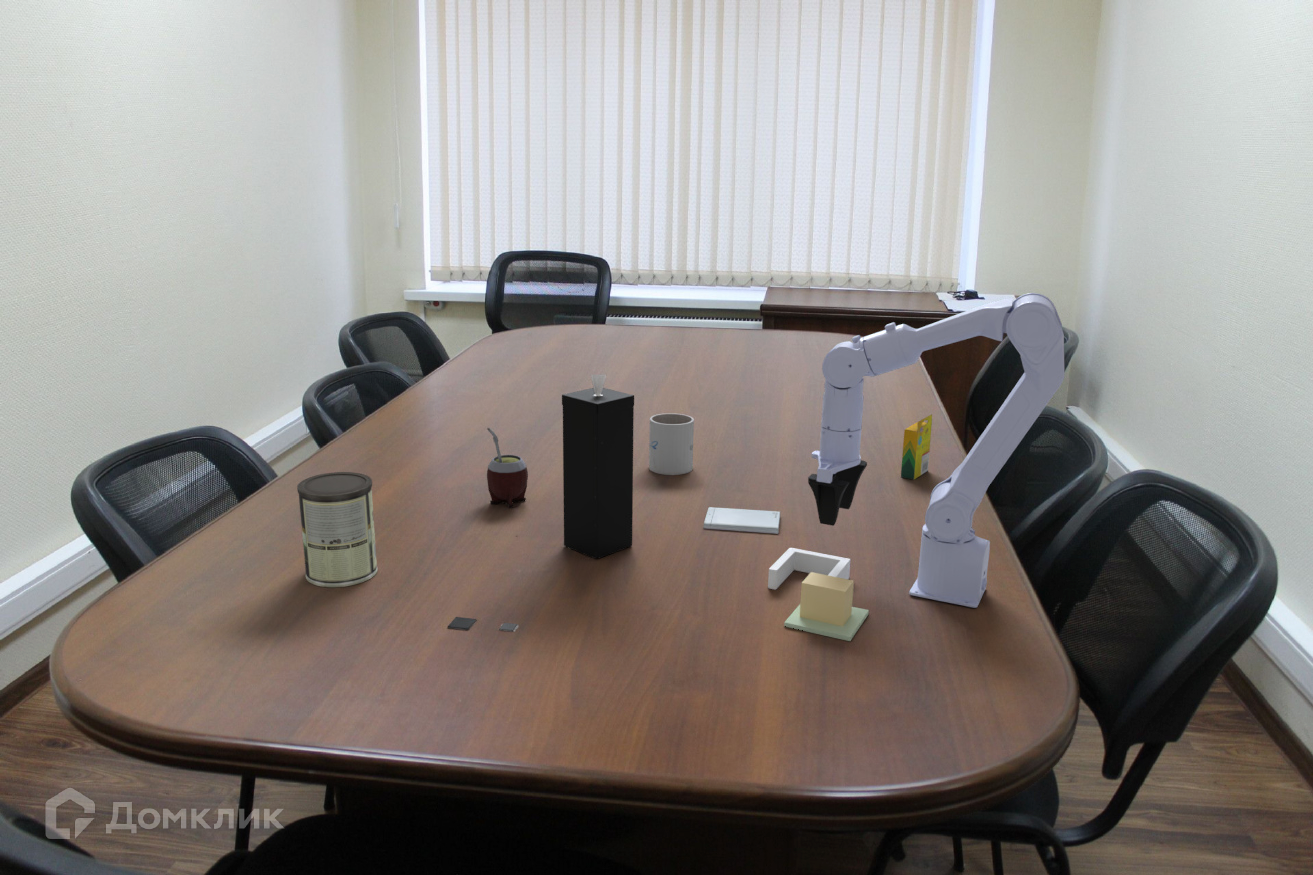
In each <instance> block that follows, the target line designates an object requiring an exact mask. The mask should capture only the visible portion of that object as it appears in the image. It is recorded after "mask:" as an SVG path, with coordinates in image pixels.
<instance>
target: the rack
mask: <svg viewBox="0 0 1313 875" xmlns="http://www.w3.org/2000/svg"><path fill="white" fill-rule="evenodd" d="M851 559H852V558H846V557H841V556H837V555H831V554H825V553H821V552H816V551H810V550H806V549H800V548H796V547H795V548H794V547H789V548H788V549H787V550H786V551H785V552H784V553H783V554H782V555H781V556H780V557H779V558H778V559H777V560H776V561H775V562H774V563H773V564H772V565H771V566H770V567H769V568H768V581H767V583H768V584H767V589H770V590H771V589H772V590H777V589H778V588H779V587H780V586H781V585H782V584H783V583H784V582H785V580H787V578H788V577H789V576H790V575H791V574H792V573H793V571H797V572H803V573H805V574H806V573H807V574H810V573H811V572H814V573H818V574H823V575H828V576H833V577H838V578H843V579H848V580H850V574H851V573H850V571H851V570H850V569H851Z"/></svg>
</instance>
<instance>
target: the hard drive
mask: <svg viewBox="0 0 1313 875" xmlns="http://www.w3.org/2000/svg"><path fill="white" fill-rule="evenodd" d="M780 522H781V511H776V510H775V511H774V510H761V509H760V510H759V509H744V508H731V507H730V508H727V507H711V506H709V507H708V509H707V512H706V516H705V519H704V521H703V529H708V530H724V531H735V532H737V531H738V532H752V533H764V534H775V535H776V534H777V535H778V534H779V530H780Z"/></svg>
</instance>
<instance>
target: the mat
mask: <svg viewBox="0 0 1313 875" xmlns="http://www.w3.org/2000/svg"><path fill="white" fill-rule="evenodd" d="M868 615H870V613H869V609H865V608H860V607H855V606H852V613H851V616H850V617H849V619H848V620H847V621H846V623H845V624H844V626H838V625H834V624H829V623H825V622H820V621H816V620H812V619H807V618H803V617H800V603H799V604H798V605H797V607H796V608H795V609H794V611H793V612H792V613H791V614H790V615H789V616H788V617H787V619H786V620H785V621H784V623H783V624H784V626H783V627H785V626H786V627H785V628H790V629H793V628H794V629H795V630H798V629H799V630H798V631H802V630H803V632H807V633H811V634H817V635H821V636H825V637H830V638H833V639H838V640H842V641H848V642H851V640H852V639H853V638H854V637H855V635H856V633H857V632H858V630H859V629H860V627H861V626H862V625H863V623H864V621H865V620H866V618H867V617H868ZM794 629H793V630H794Z"/></svg>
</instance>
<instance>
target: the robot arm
mask: <svg viewBox="0 0 1313 875" xmlns="http://www.w3.org/2000/svg"><path fill="white" fill-rule="evenodd" d="M1004 334H1006V335H1007V338H1008V339H1009V341H1010V342H1011V344H1012V345H1013V346H1014V348H1015V349H1016V351H1017V352H1018V353H1019V355H1020V360H1021V363H1022V368H1023V370H1024V372H1023V374H1022V375H1021V377H1020V378H1019V380H1018V381H1017V383H1016V384H1015V386H1014V387H1013V388H1012V390H1011V392H1009V394H1008V396H1007V397H1006V399H1004V402H1003V403H1002V404H1001V406H1000V408H999V409H998V411H996V413H995V414H994V416H993V417H992V419H991V420H990V422H989V423H988V425H986V428H984V431H983V432H982V433H981V435H980V436H979V437H978V439H977V440H976V442H975V443H974V445H973V446H972V447H971V449H970V451H969V452H968V454H966V456H965V458H964V459H963V461H962V462H961V463H960V464H959V465H958V466H957V467H956V468H955V469H954V471H953V472H952V473H951V474H950V476H949V477H948V478H946V479H945V480H943V481H940V482H939V483H938V484H936V485H935V486H934V488H933V489H932V491H931V493H930V497H929V504H928V507H927V509H926V511H925V516H924V523H925V524H923V525H922V528H921V529H922V531H921V539H920V550H919V561H918V562H919V564H918V569H917V570H918V571H917V578H916V580H915V582H914V583H913V585H912V587H911V588H910V590H909V593H908V594H909V595H910V596H912V597H913V596H914V597H919V598H924V599H929V600H934V601H937V602H944V603H949V604H952V605H959V606H964V607H967V608H974V609H975V608H978V606H979V604H980V602H981V599H982V597H983V595H984V593H985V591H986V588H987V584H988V578H987V576H988V568H989V561H990V560H989V559H990V552H991V551H990V547H991V546H990V545H991V544H990V543H991V542H990V541H991V540H988V539H985V538H983V537H979V536H977V535H976V530H975V528H973V519H974V514H975V512H976V510H977V509H978V508H979V506H980V504H981V502H982V500H983V499H984V496H985V494H986V492H987V491H988V488H989V486H990V484H992V482H993V481H994V479H995V478H996V477H997V475H998V474H999V473H1000V471H1001V469H1002V468H1003V467H1004V465H1005V464H1006V463H1007V461H1008V460H1009V458H1010V457H1011V456H1012V454H1013V453H1014V451H1015V450H1016V449H1017V447H1018V446H1019V445H1020V443H1021V441H1023V439H1024V437H1026V434H1027V433H1028V432H1029V430H1030V429H1031V428H1032V426H1033V424H1035V422H1036V420H1037V419H1038V418H1039V416H1041V414H1042V412H1043V411H1044V410H1045V408H1046V406H1048V403H1050V401H1051V399H1052V398H1053V397H1054V395H1055V393H1056V392H1057V391H1058V390H1059V388H1060V387H1061V385H1062V384H1063V381H1064V380H1065V335H1064V331H1063V324H1062V321H1061V318H1060V316H1059V314H1058V310H1057V308H1056V306H1055V304H1054V303H1053V301H1052V300H1051V299H1050V298H1049V297H1047V296H1046V295H1044V294H1041V293H1037V292H1029V293H1024V294H1022V295H1020V296H1018V297H1017V298H1015V299H1014V297H1008V298H1003V299H1000V300H998V299H997V300H995V301H992V302H989V303H988V302H987V303H985V304H982V305H979V306H976V307H974V308H971V309H967V310H965V311H962V312H960V313H957V314H955V315H951V316H949V317H945V318H943V319H941V320H938V321H936V322H933V323H930V324H926V325H925V326H922V327H919V328H914V327H912V326H910V325H908V324H905V323H902V324H898V325H896V322H894V321H893V322H891V323H888V324H886V325H885V326H884V329H883V330H880V331H877V332H874V333H872V334H868V335H865V336H863V337H861V335H860V334H858V335H857V334H856V335H855V336H853V337H852V338H851V341H852V342H851V341H850V340H849V341H842V342H839V343H837V344H836V345H834V347H833V348H831V350H829V352H828V353H827V354H826V355H825V357H824V359H823V362H822V366H821V370H822V372H821V373H822V374H823V378H824V380H825V381H824V384H823V385H824V386H823V387H824V393H823V395H822V408H821V421H820V422H821V423H820V425H821V426H820V438H819V440H820V441H819V450H814V451H812V452H811V456H810V457H811V458H812V459H816V460H817V462H818V467H817V469H816V470H817V471H816V472H817V473H811V474H810V475H809V476H808V477H807V478H808V479H807V480H808V481H807V482H808V486H809V488H810V489H811V491H812V492H813V493H812V494H813V496H814V499H815V503H816V509H817V514H818V520H819V524H821V525H827V526H832V527H833V526H835V525H836V522H837V519H838V516H839V512H840V509H844V510H849V509H850V508H851V506H852V503H853V500H854V497H855V494H856V493H855V492H856V491H857V490H856V489H857V486H858V483H859V481H860V479H861V477H862V475H863V473H864V471H865V469H866V467H867V466H868V462H867V461H866V460H862V457H861V440H862V426H863V412H864V380H865V379H864V377H871V378H872V377H876V376H879V375H883V374H887V373H889V372H890V373H891V372H893V371H896V370H899V369H902V368H905V367H908V366H911V365H915V364H917V363H918V361H919V359H920V358H921V355H922V353H923V352H925V351H928V350H932V349H936V348H940V347H942V346H943V347H944V346H947V345H950V344H953V343H954V344H955V343H957V342H962V341H965V340H967V339H971V338H975V337H979V336H982V337H986V338H989V339H990V340H991V339H992V340H995V341H998V342H1003V339H1004Z"/></svg>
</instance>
